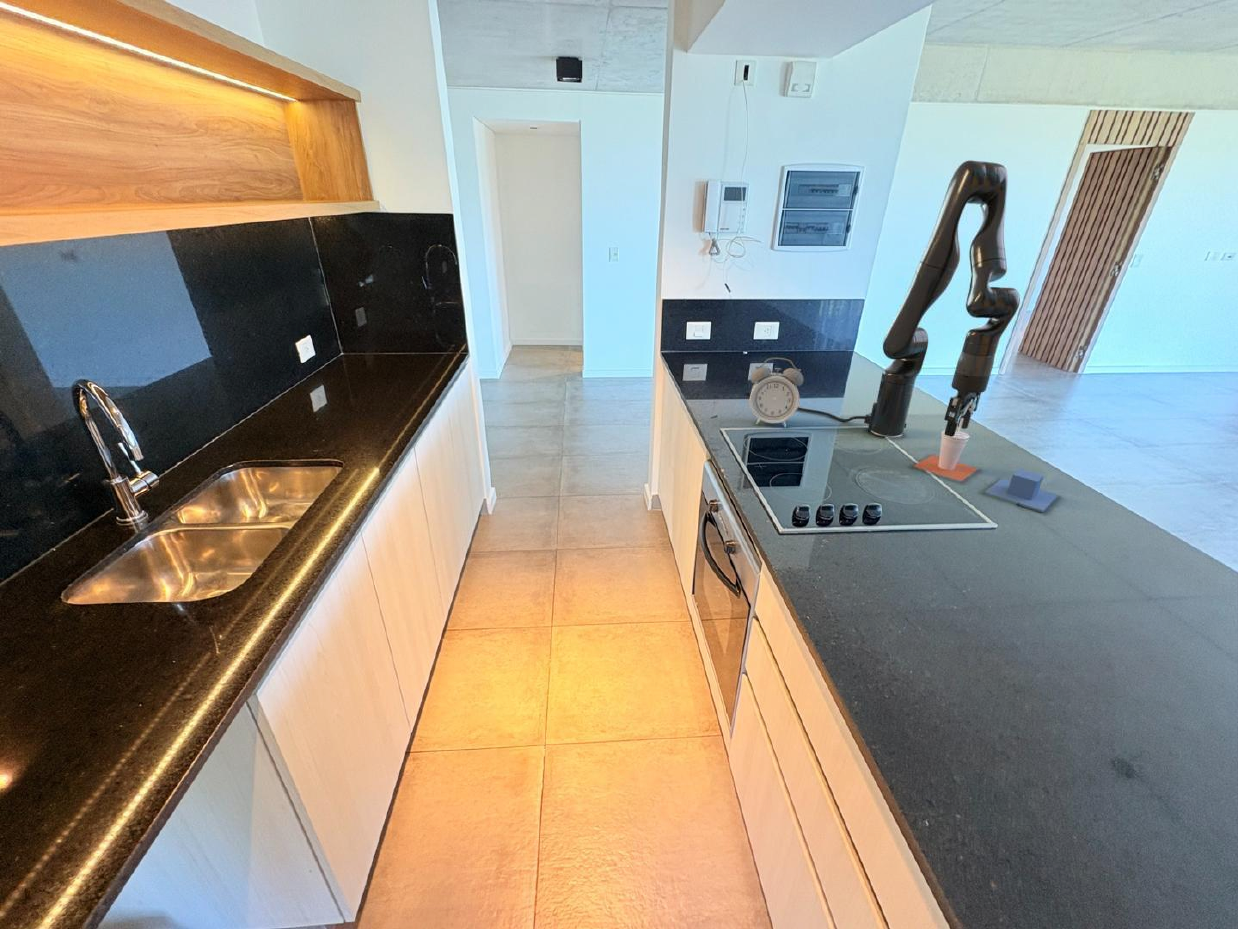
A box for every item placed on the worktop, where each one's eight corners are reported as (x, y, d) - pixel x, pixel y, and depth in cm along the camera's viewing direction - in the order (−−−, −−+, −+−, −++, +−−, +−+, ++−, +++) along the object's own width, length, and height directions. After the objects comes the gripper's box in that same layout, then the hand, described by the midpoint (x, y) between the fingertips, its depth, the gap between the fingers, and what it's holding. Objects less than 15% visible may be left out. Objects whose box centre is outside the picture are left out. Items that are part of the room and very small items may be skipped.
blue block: (1006, 492, 129) (1012, 474, 127) (1013, 487, 132) (1019, 468, 130) (1030, 500, 125) (1037, 481, 123) (1037, 494, 128) (1044, 475, 126)
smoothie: (963, 473, 139) (978, 423, 133) (937, 471, 140) (951, 421, 134) (954, 463, 145) (968, 415, 139) (929, 461, 146) (942, 413, 140)
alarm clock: (745, 425, 174) (751, 359, 165) (746, 416, 182) (753, 353, 172) (797, 429, 170) (807, 362, 161) (796, 421, 178) (806, 356, 168)
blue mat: (983, 494, 130) (984, 491, 129) (1001, 480, 137) (1001, 478, 136) (1042, 512, 121) (1043, 510, 121) (1057, 497, 128) (1058, 494, 128)
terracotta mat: (912, 468, 144) (913, 466, 143) (931, 456, 150) (932, 454, 150) (960, 483, 135) (961, 481, 135) (978, 470, 142) (979, 468, 142)
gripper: (967, 363, 138) (951, 422, 145) (945, 372, 130) (928, 434, 137) (1000, 369, 133) (981, 429, 140) (978, 379, 125) (960, 442, 131)
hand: (955, 431), depth 138 cm, fingers open, 8 cm apart
